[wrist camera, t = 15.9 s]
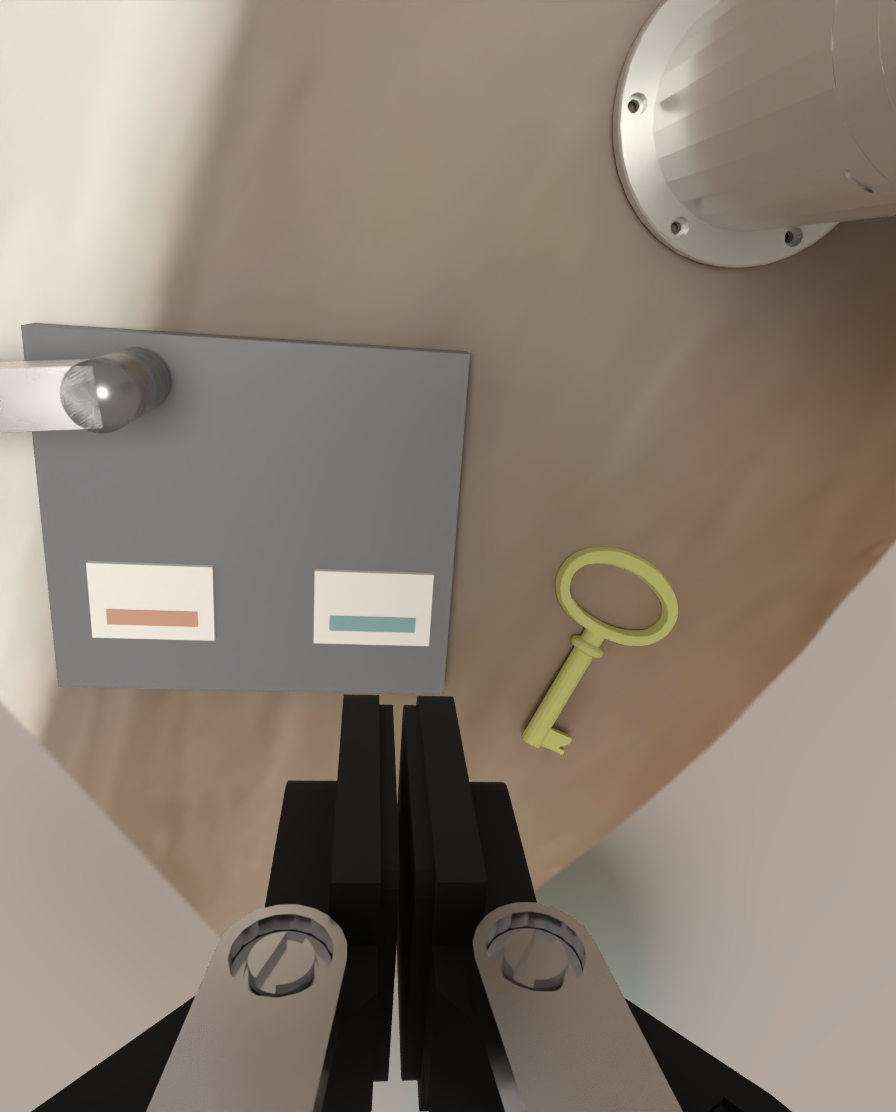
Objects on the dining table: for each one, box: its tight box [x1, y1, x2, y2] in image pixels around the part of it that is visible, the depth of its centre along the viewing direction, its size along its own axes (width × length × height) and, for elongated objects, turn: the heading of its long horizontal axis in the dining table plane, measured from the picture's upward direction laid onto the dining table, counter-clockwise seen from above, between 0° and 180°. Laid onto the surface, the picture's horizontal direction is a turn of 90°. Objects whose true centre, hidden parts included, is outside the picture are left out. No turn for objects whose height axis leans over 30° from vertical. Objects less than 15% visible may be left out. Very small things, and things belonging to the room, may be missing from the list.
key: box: [522, 547, 678, 755], centre depth 44 cm, size 7×12×2 cm, turn 169°
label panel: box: [21, 323, 470, 694], centre depth 39 cm, size 20×18×2 cm
